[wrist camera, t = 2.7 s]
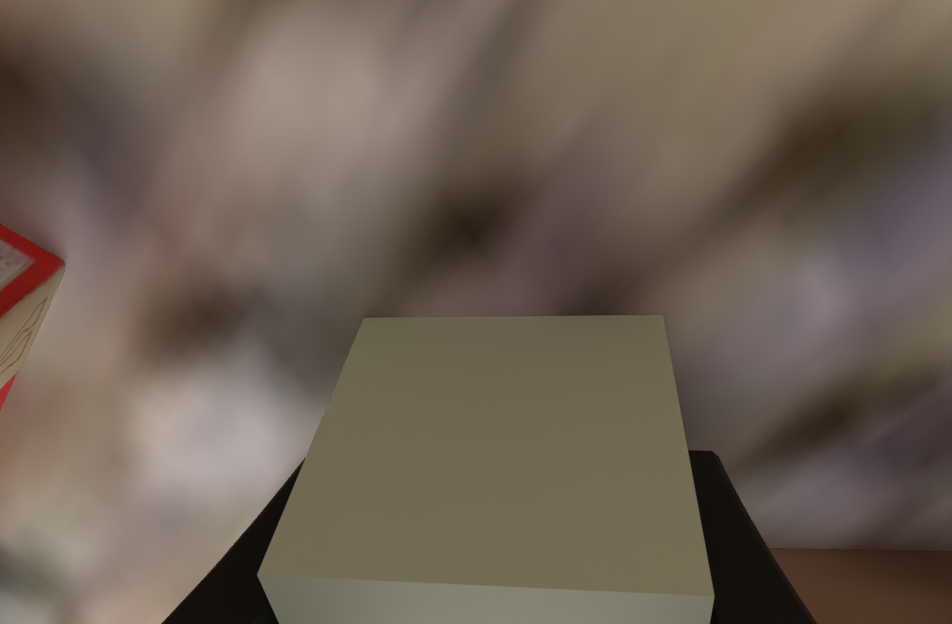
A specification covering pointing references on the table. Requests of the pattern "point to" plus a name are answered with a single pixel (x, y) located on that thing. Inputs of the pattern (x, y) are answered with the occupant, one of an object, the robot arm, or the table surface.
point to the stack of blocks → (22, 299)
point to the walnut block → (871, 585)
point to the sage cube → (496, 480)
